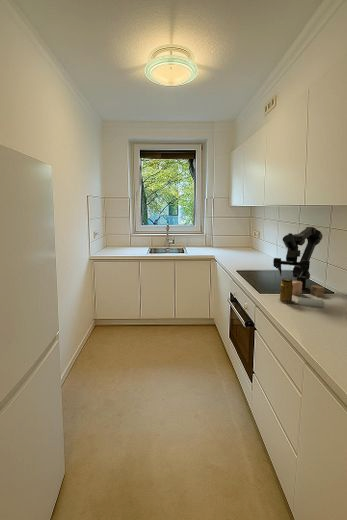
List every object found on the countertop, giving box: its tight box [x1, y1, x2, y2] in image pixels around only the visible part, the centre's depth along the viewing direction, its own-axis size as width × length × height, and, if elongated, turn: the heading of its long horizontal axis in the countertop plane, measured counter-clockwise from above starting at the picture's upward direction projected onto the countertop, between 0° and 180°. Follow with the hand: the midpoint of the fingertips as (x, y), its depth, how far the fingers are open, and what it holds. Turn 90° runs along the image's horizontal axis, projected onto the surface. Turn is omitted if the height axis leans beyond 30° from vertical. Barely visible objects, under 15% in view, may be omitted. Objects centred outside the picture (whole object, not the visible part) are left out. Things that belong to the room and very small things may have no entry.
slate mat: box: [297, 296, 324, 309], centre depth 161 cm, size 12×12×1 cm
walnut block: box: [309, 284, 325, 298], centre depth 175 cm, size 5×5×5 cm
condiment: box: [278, 278, 298, 305], centre depth 163 cm, size 7×8×12 cm
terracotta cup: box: [292, 280, 303, 296], centre depth 178 cm, size 6×6×7 cm
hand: (289, 276), depth 167 cm, fingers open, 9 cm apart
